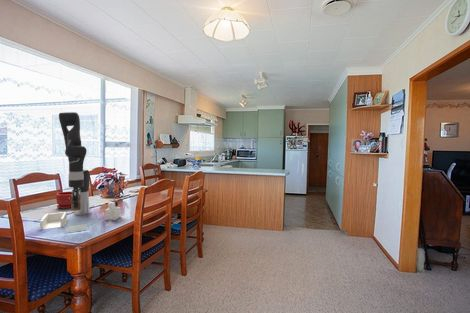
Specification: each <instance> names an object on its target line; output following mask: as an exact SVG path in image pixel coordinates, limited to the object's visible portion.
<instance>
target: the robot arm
mask: <svg viewBox="0 0 470 313" xmlns="http://www.w3.org/2000/svg"><path fill="white" fill-rule="evenodd" d="M58 120H59V123H60V124H59V125H60V127H61V131H62V135H63V139H64V145H65V149H64V152H65V153H64V154H65V156H66V157H67V160H68V187H69V188H72V190H71V192H72V197H73V202H74V208H78V201H79V200H78V198H79V194H81V210H75V211H73V215H75V216H82V215H87V214H89V213H90V199H89V198H90V196H89V195H90V193H89V192H90V191H89V190H90V179H91V178H90V177H91V174H90V171H89V170H88V169H84V161H85V158H86V155H87V148H86V147H85V146H84V145H82V138H81V120H80V115H79V113H78V112H77V111H66V112H65V111H63V112H59V114H58ZM68 127H72V128H70V129H68ZM74 198H77V199H74Z"/></svg>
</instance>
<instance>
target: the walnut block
mask: <svg viewBox="0 0 470 313" xmlns="http://www.w3.org/2000/svg"><path fill="white" fill-rule="evenodd" d="M74 199H77V198H74ZM78 200H79V201H78V208H74V202H73V197H72V195H71V208H70V211H73V212H74V211H75V210H81V194H79V198H78Z"/></svg>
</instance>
